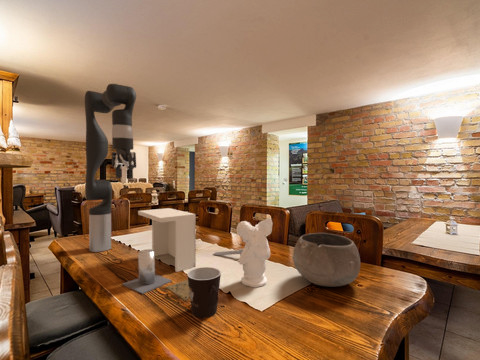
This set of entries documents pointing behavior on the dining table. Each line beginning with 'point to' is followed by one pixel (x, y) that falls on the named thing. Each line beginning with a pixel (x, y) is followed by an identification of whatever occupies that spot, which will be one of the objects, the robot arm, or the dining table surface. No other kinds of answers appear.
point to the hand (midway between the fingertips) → (124, 178)
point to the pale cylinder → (146, 266)
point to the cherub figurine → (254, 251)
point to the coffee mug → (204, 291)
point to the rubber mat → (146, 288)
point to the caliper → (229, 252)
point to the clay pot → (327, 259)
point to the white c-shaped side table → (174, 235)
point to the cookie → (180, 289)
